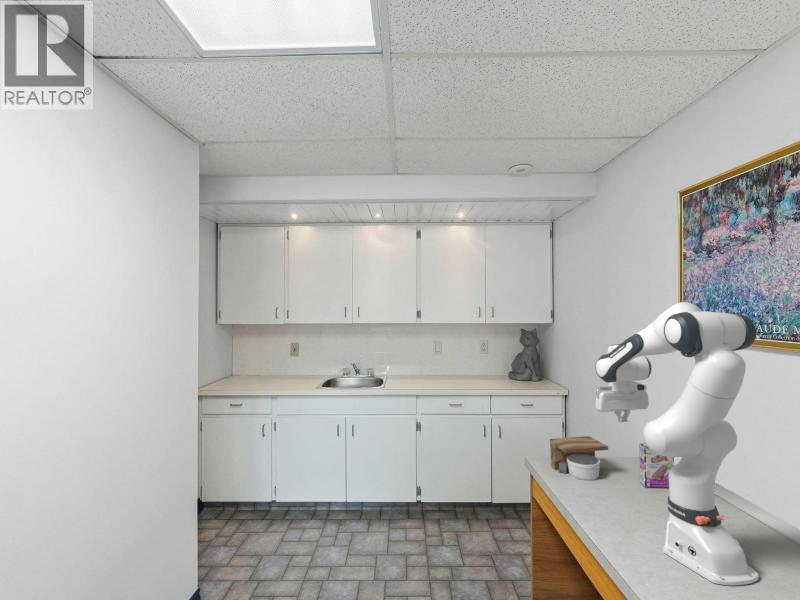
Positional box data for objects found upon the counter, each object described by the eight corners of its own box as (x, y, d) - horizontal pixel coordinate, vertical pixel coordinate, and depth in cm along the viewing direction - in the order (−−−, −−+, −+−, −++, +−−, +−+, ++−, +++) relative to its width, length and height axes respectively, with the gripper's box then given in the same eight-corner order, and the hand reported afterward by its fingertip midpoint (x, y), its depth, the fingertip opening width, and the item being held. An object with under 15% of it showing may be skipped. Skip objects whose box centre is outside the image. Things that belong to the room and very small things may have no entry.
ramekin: (560, 472, 179) (559, 456, 179) (584, 467, 183) (583, 451, 183) (583, 484, 166) (582, 467, 166) (608, 478, 171) (607, 462, 171)
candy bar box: (645, 488, 161) (644, 446, 161) (639, 482, 166) (638, 442, 166) (675, 488, 160) (674, 446, 160) (668, 483, 165) (667, 442, 165)
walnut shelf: (609, 475, 173) (608, 446, 173) (567, 479, 171) (566, 449, 171) (590, 463, 187) (589, 436, 187) (550, 466, 185) (550, 438, 185)
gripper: (601, 388, 153) (603, 425, 153) (650, 385, 156) (652, 422, 156) (591, 385, 160) (593, 421, 159) (638, 383, 162) (640, 418, 162)
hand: (622, 421), depth 157 cm, fingers closed
